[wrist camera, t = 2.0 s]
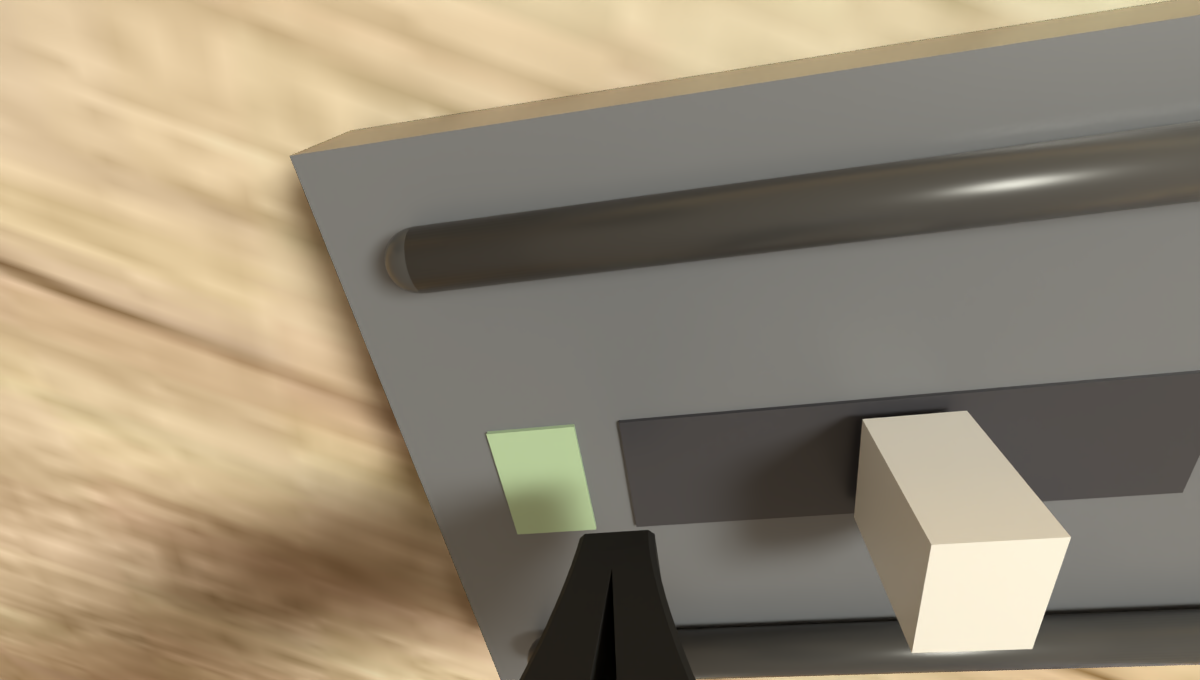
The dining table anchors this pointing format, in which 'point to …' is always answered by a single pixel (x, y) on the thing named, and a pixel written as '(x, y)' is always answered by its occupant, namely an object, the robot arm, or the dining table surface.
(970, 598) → the breaker toggle
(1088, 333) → the breaker panel
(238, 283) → the dining table surface
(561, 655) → the robot arm
